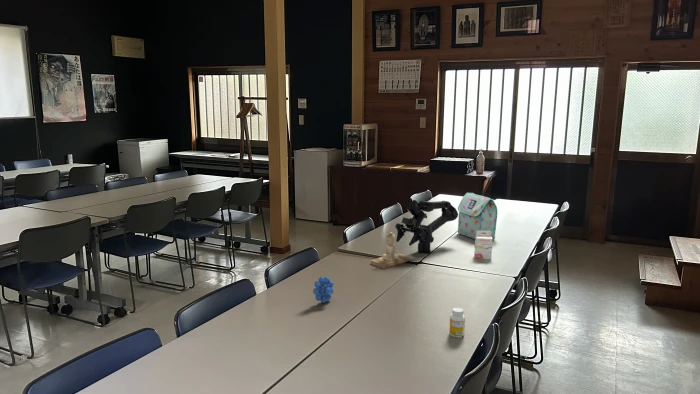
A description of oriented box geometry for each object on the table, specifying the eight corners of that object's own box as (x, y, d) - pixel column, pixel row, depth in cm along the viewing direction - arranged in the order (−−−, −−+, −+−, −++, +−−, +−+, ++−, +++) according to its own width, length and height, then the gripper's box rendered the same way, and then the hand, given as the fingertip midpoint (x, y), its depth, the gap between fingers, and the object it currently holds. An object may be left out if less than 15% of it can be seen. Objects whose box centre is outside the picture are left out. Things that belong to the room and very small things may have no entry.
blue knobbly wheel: (321, 309, 208) (320, 281, 206) (309, 305, 213) (309, 278, 211) (340, 301, 217) (340, 274, 215) (329, 297, 221) (329, 271, 219)
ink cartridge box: (475, 258, 275) (476, 232, 272) (474, 256, 280) (475, 230, 277) (491, 259, 274) (493, 233, 271) (490, 256, 279) (491, 230, 276)
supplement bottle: (453, 329, 190) (454, 305, 189) (466, 334, 187) (468, 309, 185) (446, 334, 186) (447, 310, 184) (460, 339, 183) (461, 313, 181)
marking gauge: (389, 256, 273) (389, 231, 270) (397, 258, 268) (398, 233, 266) (382, 258, 269) (383, 232, 267) (391, 260, 265) (391, 234, 262)
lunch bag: (454, 233, 326) (455, 192, 321) (474, 230, 333) (476, 190, 328) (477, 242, 306) (479, 198, 301) (498, 239, 313) (501, 196, 308)
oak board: (396, 256, 279) (396, 252, 279) (410, 260, 272) (410, 256, 272) (370, 263, 266) (370, 260, 266) (384, 268, 259) (384, 264, 259)
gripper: (397, 209, 281) (383, 231, 276) (423, 214, 267) (409, 238, 262) (406, 220, 288) (393, 242, 283) (432, 226, 274) (418, 250, 269)
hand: (403, 243), depth 274 cm, fingers open, 9 cm apart
